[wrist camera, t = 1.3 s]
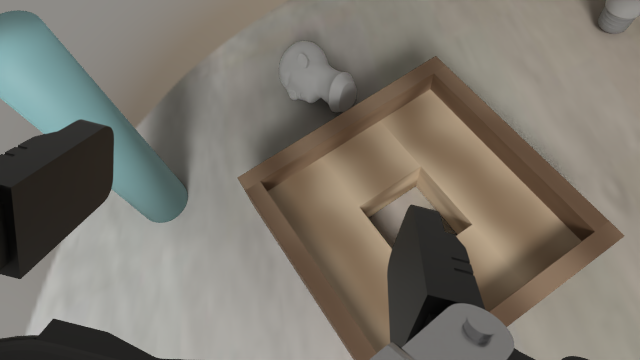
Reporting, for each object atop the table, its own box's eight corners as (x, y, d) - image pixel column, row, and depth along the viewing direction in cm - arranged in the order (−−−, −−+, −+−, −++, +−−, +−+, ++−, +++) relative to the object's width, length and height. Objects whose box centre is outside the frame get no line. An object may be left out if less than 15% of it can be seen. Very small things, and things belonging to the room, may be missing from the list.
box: (427, 97, 40) (435, 55, 35) (585, 259, 33) (624, 235, 28) (254, 206, 37) (237, 177, 32) (387, 411, 30) (392, 415, 25)
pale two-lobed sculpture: (277, 85, 44) (313, 47, 44) (330, 137, 41) (370, 96, 40) (256, 65, 40) (297, 22, 40) (313, 119, 37) (357, 74, 36)
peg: (175, 170, 39) (30, -2, 22) (195, 205, 38) (56, 48, 21) (133, 195, 39) (-49, 36, 22) (152, 231, 37) (-29, 91, 20)
